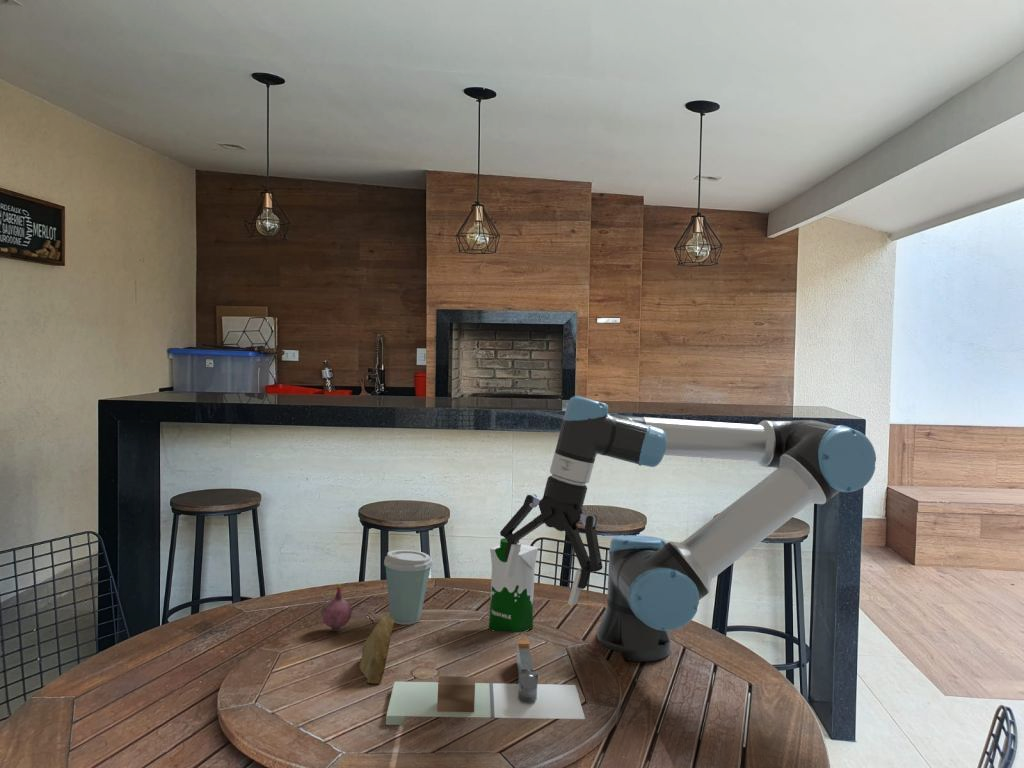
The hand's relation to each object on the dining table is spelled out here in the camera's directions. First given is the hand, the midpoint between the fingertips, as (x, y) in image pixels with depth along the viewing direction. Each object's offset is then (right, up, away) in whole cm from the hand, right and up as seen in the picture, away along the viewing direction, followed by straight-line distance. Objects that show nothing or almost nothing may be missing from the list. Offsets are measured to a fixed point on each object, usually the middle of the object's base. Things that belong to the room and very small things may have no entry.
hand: (539, 590), depth 137 cm
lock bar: (-3, -15, -5) cm, 16 cm away
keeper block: (-14, -15, -15) cm, 26 cm away
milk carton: (-5, -15, +23) cm, 28 cm away
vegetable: (-42, -14, +18) cm, 48 cm away
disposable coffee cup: (-28, -14, +26) cm, 41 cm away
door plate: (-10, -17, -12) cm, 23 cm away
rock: (-31, -15, 0) cm, 35 cm away
